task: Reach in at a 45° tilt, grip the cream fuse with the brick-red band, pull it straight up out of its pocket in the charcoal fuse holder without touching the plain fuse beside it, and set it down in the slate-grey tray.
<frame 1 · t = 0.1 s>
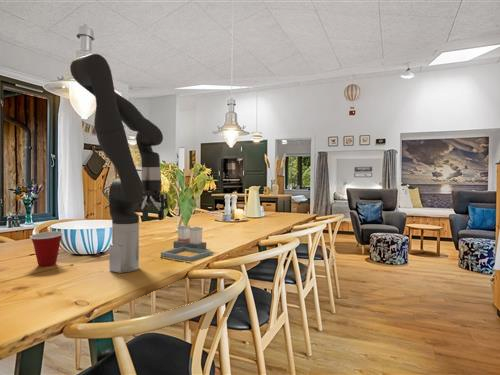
hand: (153, 219, 133), 17 cm above the table, tool pointing down, fingers open, 8 cm apart
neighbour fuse: (195, 249, 153), point 1 cm above the table, touching fuse holder
bracket: (85, 254, 147), on the table
fuse holder: (189, 250, 155), on the table
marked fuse: (183, 247, 157), point 1 cm above the table, touching fuse holder
plastic cup: (46, 265, 126), on the table
tray: (186, 257, 141), on the table
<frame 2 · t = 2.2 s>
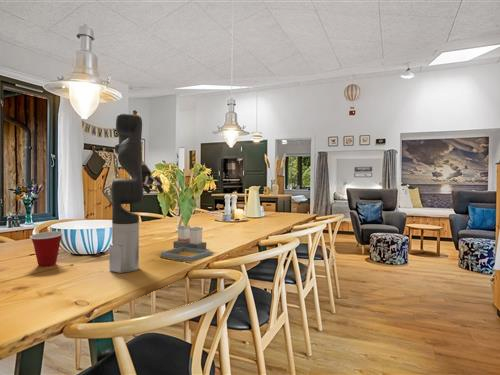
hand: (155, 192, 166), 27 cm above the table, tool tilted 45°, fingers open, 8 cm apart
nothing on the table moved.
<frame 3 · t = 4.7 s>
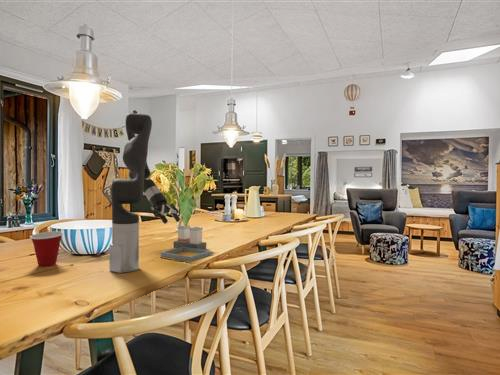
hand: (172, 221, 160), 13 cm above the table, tool tilted 45°, fingers open, 8 cm apart
nothing on the table moved.
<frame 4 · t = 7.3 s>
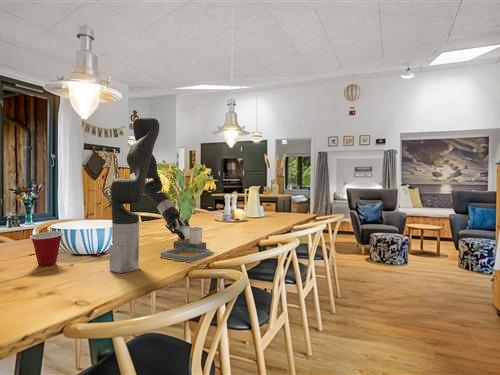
hand: (187, 238, 156), 6 cm above the table, tool tilted 45°, fingers closed on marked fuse, 4 cm apart
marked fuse: (183, 247, 157), point 1 cm above the table, touching fuse holder, gripper
everything else where it was.
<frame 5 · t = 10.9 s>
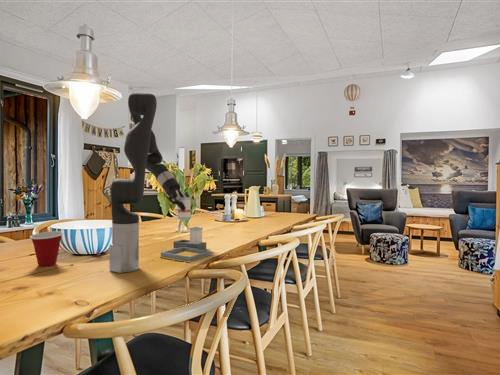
hand: (187, 209, 152), 20 cm above the table, tool tilted 45°, fingers closed on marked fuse, 4 cm apart
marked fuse: (184, 219, 153), point 15 cm above the table, touching gripper
everything else where it was.
when the fingers open (7 cm above the table, at t = 14.6 s): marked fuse drops 1 cm, resting on tray.
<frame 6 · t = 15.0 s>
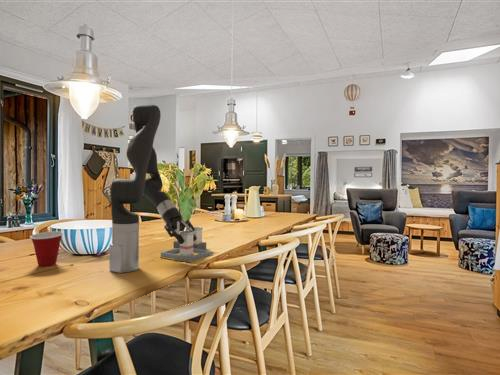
hand: (189, 241, 140), 7 cm above the table, tool tilted 45°, fingers open, 7 cm apart
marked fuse: (186, 255, 141), point 1 cm above the table, touching tray
everything else where it was.
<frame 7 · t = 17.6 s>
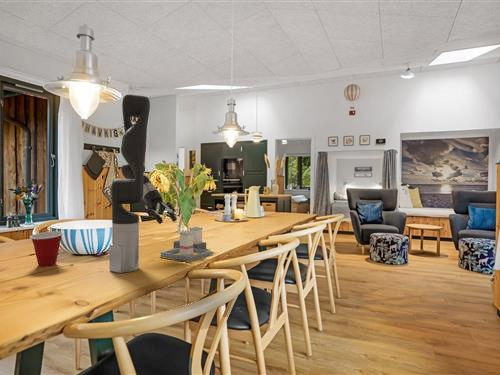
hand: (168, 221, 146), 15 cm above the table, tool tilted 45°, fingers open, 8 cm apart
nothing on the table moved.
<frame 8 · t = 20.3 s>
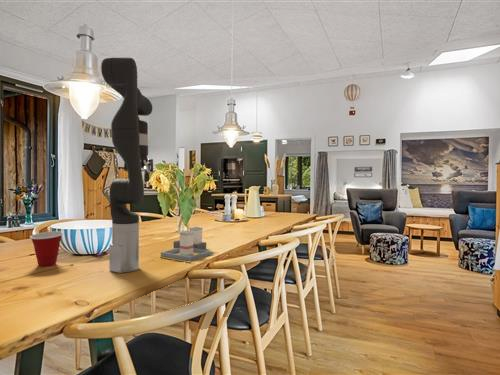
hand: (139, 181, 146), 32 cm above the table, tool pointing down, fingers open, 8 cm apart
nothing on the table moved.
at the end: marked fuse inside the target area on the tray (0.0 cm from its centre), point 0.8 cm above the tray's base; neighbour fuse moved 0.0 cm from its start; the gripper is holding nothing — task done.
